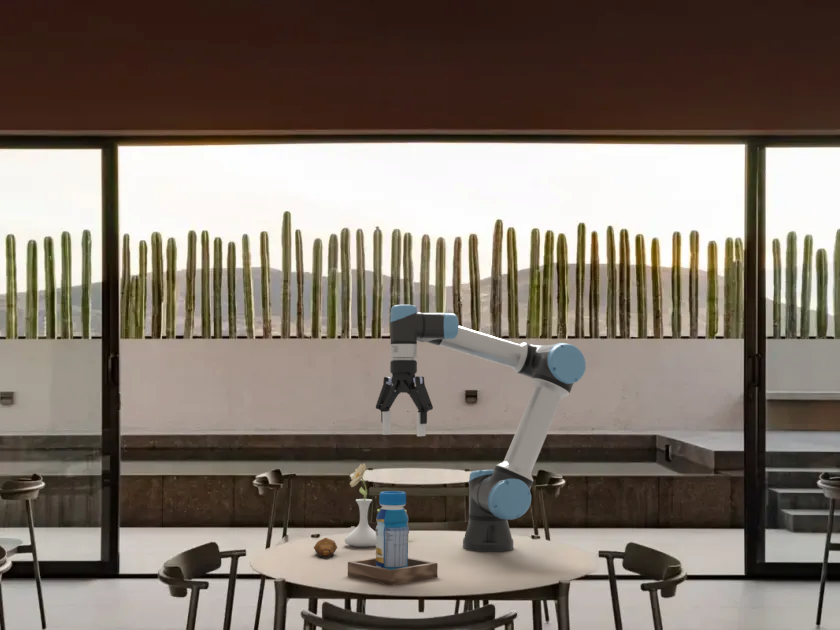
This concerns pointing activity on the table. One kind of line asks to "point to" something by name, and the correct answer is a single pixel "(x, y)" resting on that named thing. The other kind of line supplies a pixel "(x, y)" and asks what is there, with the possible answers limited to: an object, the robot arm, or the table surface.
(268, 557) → the table surface
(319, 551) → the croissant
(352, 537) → the flower in vase
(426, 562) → the walnut tray
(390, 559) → the beverage bottle
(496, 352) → the robot arm
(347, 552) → the table surface
